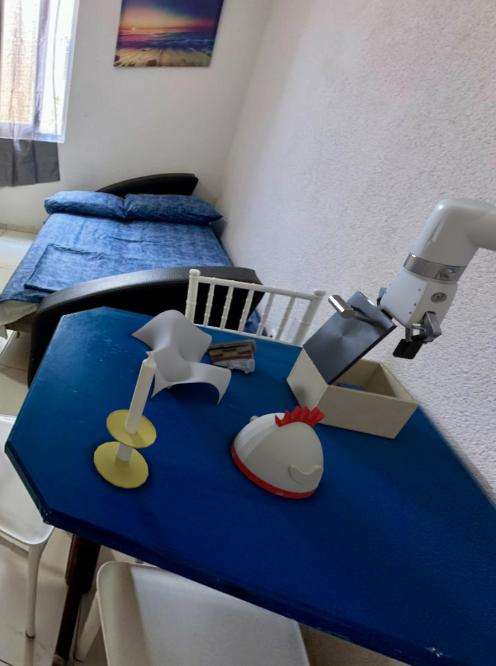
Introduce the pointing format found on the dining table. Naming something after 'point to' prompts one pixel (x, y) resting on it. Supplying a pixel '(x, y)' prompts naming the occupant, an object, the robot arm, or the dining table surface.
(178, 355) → the sculpture
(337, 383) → the blue block
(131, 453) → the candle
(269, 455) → the kitchen timer
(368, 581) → the dining table surface
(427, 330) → the robot arm
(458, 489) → the dining table surface
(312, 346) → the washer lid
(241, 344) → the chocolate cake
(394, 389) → the open box
